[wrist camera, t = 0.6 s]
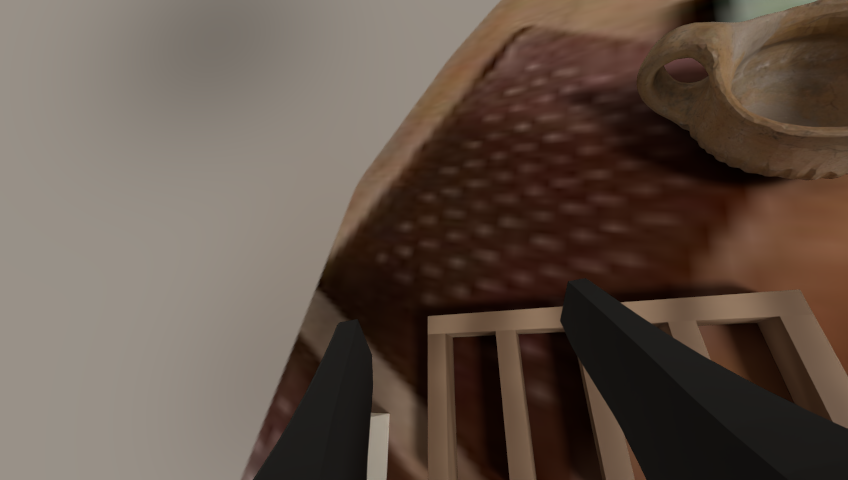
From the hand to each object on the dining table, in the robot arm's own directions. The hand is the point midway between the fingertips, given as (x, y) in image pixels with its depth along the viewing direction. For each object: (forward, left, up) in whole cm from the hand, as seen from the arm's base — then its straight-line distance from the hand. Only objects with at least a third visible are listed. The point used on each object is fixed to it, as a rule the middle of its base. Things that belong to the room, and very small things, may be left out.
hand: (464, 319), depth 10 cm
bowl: (+19, -22, -19) cm, 34 cm away
